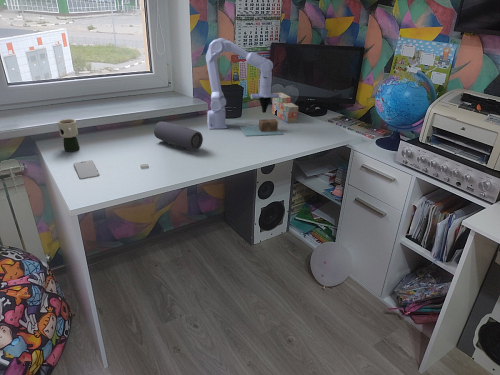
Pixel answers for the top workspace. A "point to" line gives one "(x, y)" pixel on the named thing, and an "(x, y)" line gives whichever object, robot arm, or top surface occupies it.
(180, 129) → the bluetooth speaker
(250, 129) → the teal-grey mat
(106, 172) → the top surface
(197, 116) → the top surface
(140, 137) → the top surface
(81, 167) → the smartphone
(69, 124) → the character mug
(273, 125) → the walnut block
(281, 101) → the stack of blocks
